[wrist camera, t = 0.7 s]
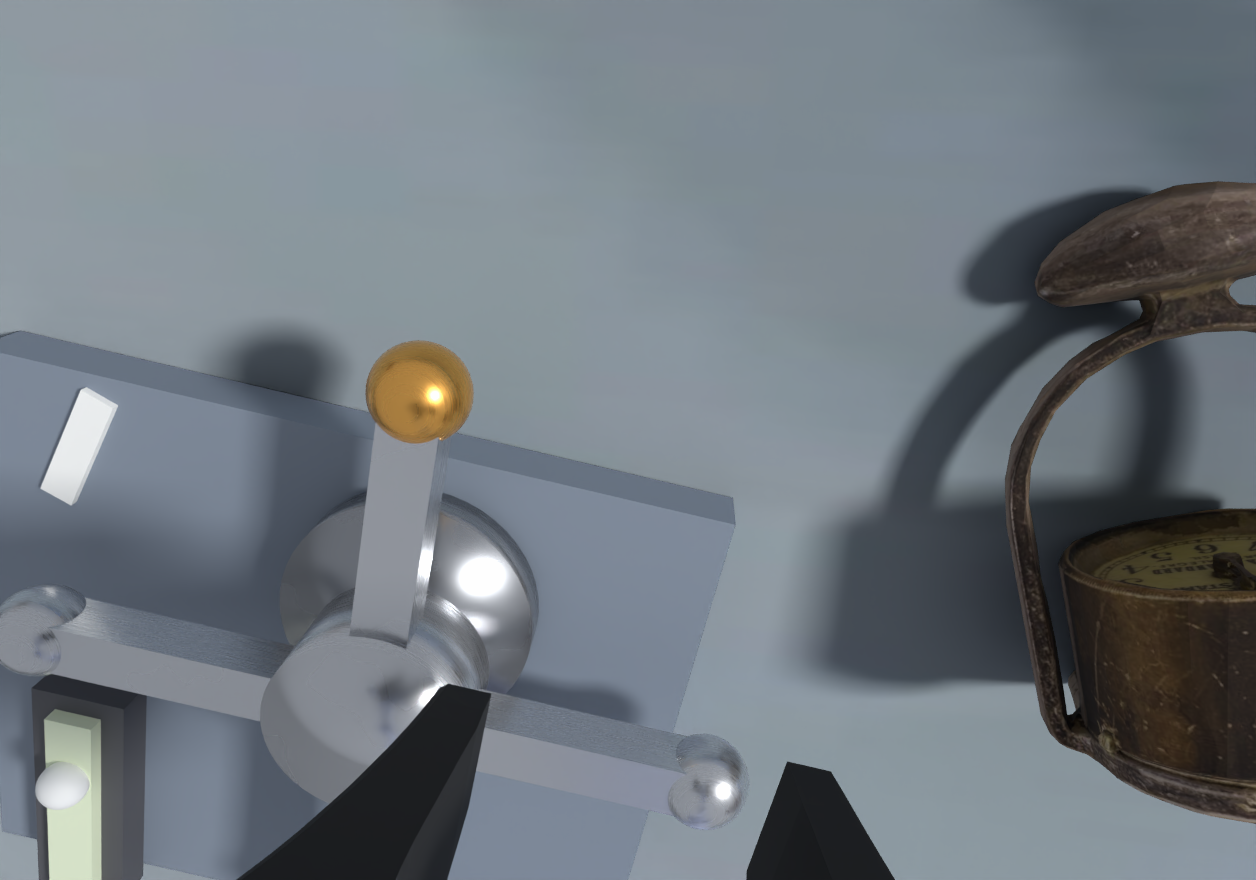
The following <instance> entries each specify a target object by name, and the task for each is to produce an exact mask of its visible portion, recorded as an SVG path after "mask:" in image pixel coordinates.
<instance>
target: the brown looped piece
mask: <svg viewBox="0 0 1256 880" xmlns="http://www.w3.org/2000/svg"><path fill="white" fill-rule="evenodd" d="M1254 275H1256V183H1237V182H1206V183H1193V184H1184V185H1177V186H1173V187H1170V188H1167V189H1164V190H1161V191H1158V192H1155V193H1153V194H1150V195H1147V196H1144V197H1141V198H1138V199H1135V200H1132V201H1130V202H1127V203H1125V204H1122V205H1120V206H1117V207H1114V208H1112V209H1109V210H1107V211H1104V212H1103V213H1101V214H1100V215H1098V216H1097V217H1095V218H1094V219H1092V220H1091V221H1089V222H1088V223H1087V224H1085V225H1084V226H1082V227H1081V228H1079V229H1078V230H1076V231H1075V232H1073V233H1072V234H1070V235H1069V236H1068V237H1066V238H1065V239H1063V240H1062V241H1060V242H1059V243H1058V245H1057V246H1056V247H1055V248H1054V249H1053V250H1052V252H1051V253H1050V254H1049V255H1048V256H1047V258H1046V259H1045V260H1044V261H1043V262H1042V263H1041V266H1040V269H1039V271H1038V274H1037V277H1036V280H1035V282H1034V283H1035V287H1036V291H1037V294H1038V296H1039V297H1041V298H1042V299H1044V300H1046V301H1047V302H1049V303H1051V304H1053V305H1057V306H1060V307H1070V306H1079V305H1088V304H1096V303H1105V302H1114V301H1128V300H1139V301H1140V304H1141V307H1142V310H1143V312H1142V314H1141V317H1140V319H1138V320H1136V321H1134V322H1133V323H1131V324H1129V325H1127V326H1126V327H1124V328H1122V329H1120V330H1118V331H1117V332H1115V333H1113V334H1111V335H1109V336H1107V337H1105V338H1103V339H1101V340H1098V341H1096V342H1094V343H1092V344H1091V345H1090V346H1088V347H1087V348H1086V349H1084V350H1083V351H1081V352H1080V353H1079V354H1077V355H1076V356H1075V357H1073V358H1072V359H1071V360H1069V361H1068V362H1067V363H1066V364H1065V366H1064V367H1063V368H1062V369H1061V370H1060V371H1059V372H1058V373H1057V374H1056V375H1055V376H1054V377H1053V378H1052V379H1051V380H1050V381H1049V382H1048V383H1047V384H1046V385H1045V386H1044V387H1043V388H1042V390H1041V392H1040V394H1039V395H1038V397H1037V399H1036V401H1035V402H1034V404H1033V406H1032V408H1031V409H1030V411H1029V413H1028V415H1027V416H1026V418H1025V420H1024V421H1023V423H1022V425H1021V426H1020V428H1019V430H1018V432H1017V434H1016V436H1015V438H1014V440H1013V443H1012V445H1011V450H1010V455H1009V461H1008V466H1007V472H1006V477H1005V499H1006V527H1007V531H1008V536H1009V542H1010V547H1011V553H1012V559H1013V564H1014V570H1015V575H1016V581H1017V587H1018V592H1019V598H1020V603H1021V609H1022V615H1023V620H1024V626H1025V631H1026V637H1027V642H1028V648H1029V653H1030V658H1031V664H1032V669H1033V675H1034V680H1035V685H1036V691H1037V696H1038V701H1039V707H1040V712H1041V716H1042V718H1043V720H1044V722H1045V724H1046V726H1047V728H1048V730H1049V732H1050V734H1051V735H1052V736H1053V737H1054V738H1055V739H1056V740H1057V741H1058V742H1059V743H1060V744H1062V745H1064V746H1065V747H1067V748H1070V749H1073V750H1076V751H1079V752H1082V753H1085V754H1087V755H1089V756H1090V757H1092V758H1093V759H1095V760H1096V761H1098V762H1099V763H1100V764H1102V765H1103V766H1104V767H1105V768H1106V769H1108V770H1109V771H1110V772H1111V773H1112V774H1114V775H1115V776H1116V778H1118V779H1120V780H1121V781H1123V782H1125V783H1126V784H1128V785H1130V786H1132V787H1133V788H1135V789H1137V790H1138V791H1140V792H1142V793H1145V794H1147V795H1150V796H1152V797H1155V798H1157V799H1160V800H1162V801H1165V802H1168V803H1171V804H1174V805H1176V806H1179V807H1182V808H1185V809H1188V810H1191V811H1194V812H1197V813H1201V814H1205V815H1209V816H1214V817H1219V818H1225V819H1231V820H1237V821H1243V822H1249V823H1254V824H1256V509H1216V510H1206V511H1200V512H1194V513H1187V514H1181V515H1175V516H1169V517H1163V518H1157V519H1150V520H1144V521H1138V522H1132V523H1129V524H1125V525H1121V526H1117V527H1113V528H1109V529H1105V530H1102V531H1099V532H1096V533H1094V534H1091V535H1089V536H1086V537H1084V538H1081V539H1079V540H1076V541H1074V542H1073V543H1072V544H1071V545H1070V546H1069V547H1068V548H1067V549H1066V550H1065V551H1064V552H1063V554H1062V555H1061V558H1060V560H1059V563H1058V566H1059V571H1060V577H1061V583H1062V588H1063V595H1064V602H1065V609H1066V614H1067V620H1068V626H1069V632H1070V638H1071V643H1072V649H1073V656H1074V662H1075V668H1076V670H1075V671H1073V673H1072V674H1071V675H1070V676H1069V677H1068V686H1069V688H1070V691H1071V694H1072V697H1073V701H1074V704H1075V708H1076V711H1075V712H1074V713H1073V714H1071V715H1067V711H1066V704H1065V697H1064V690H1063V683H1062V677H1061V671H1060V665H1059V659H1058V653H1057V647H1056V641H1055V636H1054V631H1053V626H1052V621H1051V617H1050V612H1049V607H1048V602H1047V598H1046V594H1045V591H1044V587H1043V584H1042V580H1041V574H1040V566H1039V557H1038V549H1037V544H1036V538H1035V533H1034V528H1033V522H1032V517H1031V511H1030V506H1029V489H1030V472H1031V465H1032V462H1033V459H1034V457H1035V454H1036V451H1037V448H1038V445H1039V442H1040V439H1041V437H1042V436H1043V434H1044V432H1045V430H1046V428H1047V426H1048V424H1049V422H1050V420H1051V419H1052V417H1053V415H1054V413H1055V411H1056V410H1057V409H1058V408H1059V407H1060V406H1061V405H1062V404H1063V403H1064V402H1065V401H1066V399H1067V398H1068V397H1069V396H1070V395H1071V394H1072V393H1073V392H1074V391H1075V390H1076V389H1077V388H1078V387H1079V386H1080V385H1081V384H1082V383H1083V382H1084V381H1085V380H1086V379H1087V378H1089V377H1090V376H1092V375H1093V374H1095V373H1096V372H1098V371H1100V370H1101V369H1103V368H1104V367H1106V366H1107V365H1109V364H1111V363H1112V362H1114V361H1115V360H1117V359H1118V358H1120V357H1122V356H1123V355H1125V354H1127V353H1130V352H1132V351H1134V350H1137V349H1139V348H1142V347H1144V346H1146V345H1149V344H1151V343H1153V342H1157V341H1162V340H1167V339H1172V338H1177V337H1182V336H1187V335H1191V334H1196V333H1201V332H1222V331H1248V332H1255V333H1256V305H1242V304H1238V303H1237V302H1236V301H1235V300H1234V299H1233V298H1232V297H1231V296H1230V293H1229V288H1230V286H1231V284H1232V283H1234V282H1235V281H1236V280H1238V279H1242V278H1246V277H1250V276H1254Z"/></svg>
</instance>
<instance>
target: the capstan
mask: <svg viewBox="0 0 1256 880" xmlns="http://www.w3.org/2000/svg"><path fill="white" fill-rule="evenodd" d="M473 395H474V393H473V384H472V380H471V377H470V374H469V372H468V370H467V368H466V366H465V365H464V363H463V362H462V361H461V359H460V358H459V357H458V356H457V355H456V354H455V353H453V352H452V351H451V350H449V349H447V348H446V347H444V346H442V345H439V344H436V343H433V342H429V341H419V340H417V341H409V342H404V343H401V344H398V345H396V346H394V347H392V348H391V349H389V350H387V351H386V352H385V353H383V354H382V355H381V356H380V358H379V359H378V360H377V361H376V362H375V364H374V365H373V367H372V369H371V371H370V373H369V376H368V379H367V383H366V402H367V406H368V409H369V412H370V414H371V416H372V418H373V420H374V421H375V432H374V440H373V448H372V456H371V464H370V472H369V480H368V488H367V492H365V493H362V494H359V495H356V496H354V497H352V498H350V499H348V500H346V501H344V502H342V503H340V504H339V505H338V506H336V507H335V508H333V509H332V510H331V511H329V512H328V513H327V514H326V515H325V516H324V517H323V518H322V519H321V520H320V521H319V522H318V523H317V524H316V525H315V526H314V528H313V529H312V530H311V531H310V532H309V533H308V534H307V535H306V536H305V538H304V539H303V540H302V541H301V542H300V544H299V545H298V546H297V548H296V549H295V550H294V552H293V553H292V555H291V557H290V559H289V561H288V563H287V565H286V568H285V570H284V573H283V576H282V581H281V587H280V613H281V621H282V624H283V628H284V631H285V635H286V637H287V639H288V642H289V644H290V645H288V644H284V643H280V642H275V641H271V640H266V639H262V638H258V637H253V636H249V635H245V634H240V633H236V632H232V631H227V630H223V629H219V628H214V627H210V626H206V625H201V624H197V623H193V622H188V621H184V620H180V619H175V618H171V617H167V616H162V615H158V614H154V613H149V612H145V611H141V610H136V609H132V608H128V607H123V606H119V605H114V604H110V603H106V602H101V601H97V600H93V599H88V598H86V597H85V596H84V595H82V594H81V593H80V592H78V591H77V590H75V589H73V588H70V587H67V586H64V585H60V584H38V585H33V586H29V587H27V588H24V589H22V590H19V591H18V592H16V593H14V594H12V595H11V596H10V597H8V598H7V599H6V600H5V601H3V603H2V604H1V605H0V664H1V665H3V666H4V667H5V668H7V669H9V670H11V671H13V672H15V673H18V674H21V675H26V676H46V675H51V674H55V675H59V676H64V677H68V678H72V679H77V680H81V681H85V682H90V683H94V684H99V685H103V686H107V687H112V688H116V689H120V690H125V691H129V692H133V693H138V694H142V695H147V696H151V697H155V698H160V699H164V700H168V701H173V702H177V703H182V704H186V705H190V706H195V707H199V708H203V709H208V710H212V711H217V712H221V713H225V714H230V715H234V716H238V717H243V718H247V719H251V720H256V721H260V723H261V730H262V734H263V737H264V740H265V743H266V745H267V747H268V749H269V752H270V753H271V755H272V757H273V758H274V760H275V761H276V763H277V764H278V765H279V767H280V768H281V769H282V770H283V772H284V773H285V774H286V775H287V776H288V777H289V778H290V779H291V780H292V781H293V782H295V783H296V784H297V785H299V786H300V787H301V788H302V789H304V790H305V791H307V792H308V793H310V794H312V795H313V796H315V797H317V798H319V799H321V800H323V801H325V802H327V803H329V804H330V803H331V802H332V801H333V800H334V799H335V798H337V797H338V796H339V795H340V794H341V793H342V792H343V791H344V790H345V789H347V788H348V787H349V786H350V785H351V784H352V783H353V782H354V781H355V780H356V779H357V778H358V777H359V776H360V775H361V774H362V773H363V772H364V771H365V770H366V769H367V768H368V767H369V766H370V765H371V764H372V763H373V762H374V761H375V760H376V759H377V758H378V757H379V756H380V755H381V754H382V753H383V752H384V751H385V750H386V749H387V748H388V747H389V746H390V745H391V744H392V743H393V742H394V741H395V740H396V738H397V737H398V736H399V735H400V734H401V733H402V732H403V731H404V730H405V729H406V728H407V727H408V725H409V724H410V723H411V722H412V721H413V720H414V719H415V717H416V716H417V715H418V714H419V713H420V712H421V710H422V709H423V708H424V707H425V705H426V704H427V703H428V702H429V700H430V699H431V698H432V696H433V695H434V694H435V692H436V691H437V690H438V688H440V687H442V686H444V685H446V684H452V685H457V686H461V687H465V688H470V689H474V690H478V691H483V692H487V693H491V699H490V704H489V709H488V714H487V719H486V724H485V729H484V734H483V738H482V743H481V748H480V753H479V758H478V763H477V768H476V771H479V772H483V773H487V774H492V775H496V776H501V777H505V778H509V779H514V780H518V781H522V782H527V783H531V784H536V785H540V786H544V787H549V788H553V789H557V790H562V791H566V792H570V793H575V794H579V795H584V796H588V797H592V798H597V799H601V800H605V801H610V802H614V803H619V804H623V805H627V806H632V807H636V808H640V809H645V810H649V811H654V812H658V813H662V814H667V815H671V816H674V817H675V818H676V819H678V820H679V821H680V822H681V823H683V824H685V825H687V826H689V827H692V828H695V829H699V830H712V829H717V828H720V827H722V826H724V825H726V824H728V823H730V822H731V821H732V820H733V819H734V818H736V817H737V815H738V814H739V813H740V811H741V810H742V808H743V807H744V805H745V802H746V800H747V796H748V792H749V775H748V770H747V767H746V764H745V762H744V760H743V758H742V756H741V755H740V753H739V752H738V751H737V749H736V748H735V747H734V746H733V745H731V744H730V743H729V742H728V741H726V740H724V739H722V738H720V737H718V736H715V735H711V734H695V735H691V736H683V735H679V734H675V733H670V732H666V731H662V730H657V729H653V728H649V727H644V726H640V725H636V724H631V723H627V722H623V721H618V720H614V719H610V718H605V717H601V716H597V715H592V714H588V713H583V712H579V711H575V710H570V709H566V708H562V707H557V706H553V705H549V704H544V703H540V702H536V701H531V700H527V699H523V698H518V697H514V696H510V695H505V694H506V693H507V692H508V691H509V690H510V689H511V688H512V686H513V685H514V683H515V682H516V680H517V679H518V678H519V676H520V674H521V672H522V670H523V668H524V666H525V664H526V661H527V658H528V654H529V651H530V648H531V644H532V641H533V638H534V634H535V631H536V628H537V622H538V615H539V598H538V592H537V586H536V582H535V579H534V576H533V572H532V570H531V568H530V565H529V563H528V561H527V559H526V557H525V555H524V554H523V552H522V551H521V549H520V548H519V546H518V544H517V543H516V542H515V541H514V539H513V538H512V537H511V536H510V535H509V534H508V532H507V531H506V530H505V529H504V528H503V527H502V526H500V525H499V524H498V523H497V522H496V521H495V520H494V519H493V518H491V517H490V516H488V515H487V514H486V513H484V512H483V511H482V510H480V509H478V508H476V507H475V506H473V505H471V504H469V503H468V502H466V501H463V500H461V499H459V498H456V497H454V496H452V495H449V494H445V493H443V488H444V482H445V475H446V469H447V463H448V457H449V450H450V444H451V438H452V435H453V434H455V433H456V432H457V431H458V430H459V429H460V428H461V427H462V425H463V424H464V423H465V421H466V419H467V418H468V416H469V413H470V411H471V408H472V404H473ZM329 804H328V805H329Z"/></svg>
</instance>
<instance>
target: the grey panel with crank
mask: <svg viewBox="0 0 1256 880" xmlns="http://www.w3.org/2000/svg"><path fill="white" fill-rule="evenodd" d="M374 432H375V421H374V420H373V418H372V416H371V414H370V413H369V412H365V411H360V410H356V409H352V408H347V407H343V406H339V405H335V404H330V403H326V402H322V401H318V400H313V399H309V398H305V397H301V396H296V395H292V394H288V393H284V392H279V391H275V390H271V389H267V388H262V387H258V386H254V385H249V384H245V383H241V382H237V381H232V380H228V379H224V378H220V377H215V376H211V375H207V374H203V373H198V372H194V371H190V370H186V369H181V368H177V367H173V366H168V365H164V364H160V363H156V362H151V361H147V360H143V359H139V358H134V357H130V356H126V355H122V354H117V353H113V352H109V351H105V350H100V349H96V348H92V347H88V346H83V345H79V344H75V343H70V342H66V341H62V340H58V339H53V338H49V337H45V336H41V335H36V334H32V333H28V332H24V331H19V332H16V333H13V334H10V335H7V336H4V337H0V605H1V604H2V603H3V601H5V600H6V599H7V598H8V597H10V596H11V595H12V594H14V593H16V592H18V591H19V590H22V589H24V588H27V587H29V586H33V585H38V584H60V585H64V586H67V587H70V588H73V589H75V590H77V591H78V592H80V593H81V594H82V595H84V596H85V597H86V598H88V599H93V600H97V601H101V602H106V603H110V604H114V605H119V606H123V607H128V608H132V609H136V610H141V611H145V612H149V613H154V614H158V615H162V616H167V617H171V618H175V619H180V620H184V621H188V622H193V623H197V624H201V625H206V626H210V627H214V628H219V629H223V630H227V631H232V632H236V633H240V634H245V635H249V636H253V637H258V638H262V639H266V640H271V641H275V642H280V643H284V644H288V645H290V644H289V642H288V639H287V637H286V635H285V631H284V628H283V624H282V621H281V613H280V587H281V581H282V576H283V573H284V570H285V568H286V565H287V563H288V561H289V559H290V557H291V555H292V553H293V552H294V550H295V549H296V548H297V546H298V545H299V544H300V542H301V541H302V540H303V539H304V538H305V536H306V535H307V534H308V533H309V532H310V531H311V530H312V529H313V528H314V526H315V525H316V524H317V523H318V522H319V521H320V520H321V519H322V518H323V517H324V516H325V515H326V514H327V513H328V512H329V511H331V510H332V509H333V508H335V507H336V506H338V505H339V504H340V503H342V502H344V501H346V500H348V499H350V498H352V497H354V496H356V495H359V494H362V493H365V492H367V488H368V480H369V472H370V464H371V456H372V448H373V440H374ZM443 493H445V494H449V495H452V496H454V497H456V498H459V499H461V500H463V501H466V502H468V503H469V504H471V505H473V506H475V507H476V508H478V509H480V510H482V511H483V512H484V513H486V514H487V515H488V516H490V517H491V518H493V519H494V520H495V521H496V522H497V523H498V524H499V525H500V526H502V527H503V528H504V529H505V530H506V531H507V532H508V534H509V535H510V536H511V537H512V538H513V539H514V541H515V542H516V543H517V544H518V546H519V548H520V549H521V551H522V552H523V554H524V555H525V557H526V559H527V561H528V563H529V565H530V568H531V570H532V572H533V576H534V579H535V582H536V586H537V592H538V598H539V615H538V622H537V628H536V631H535V634H534V638H533V641H532V644H531V648H530V651H529V654H528V658H527V661H526V664H525V666H524V668H523V670H522V672H521V674H520V676H519V678H518V679H517V680H516V682H515V683H514V685H513V686H512V688H511V689H510V690H509V691H508V692H507V693H506V694H505V695H510V696H514V697H518V698H523V699H527V700H531V701H536V702H540V703H544V704H549V705H553V706H557V707H562V708H566V709H570V710H575V711H579V712H583V713H588V714H592V715H597V716H601V717H605V718H610V719H614V720H618V721H623V722H627V723H631V724H636V725H640V726H644V727H649V728H653V729H657V730H662V731H666V732H670V733H673V730H674V727H675V723H676V720H677V717H678V713H679V710H680V707H681V704H682V700H683V697H684V694H685V690H686V687H687V684H688V680H689V677H690V674H691V671H692V667H693V664H694V661H695V657H696V654H697V651H698V647H699V644H700V641H701V638H702V634H703V631H704V628H705V624H706V621H707V618H708V614H709V611H710V608H711V605H712V601H713V598H714V595H715V591H716V588H717V585H718V581H719V578H720V575H721V572H722V568H723V565H724V562H725V558H726V555H727V552H728V549H729V545H730V542H731V539H732V535H733V532H734V529H735V525H736V524H735V514H734V504H733V498H731V497H727V496H722V495H718V494H714V493H710V492H705V491H701V490H697V489H693V488H688V487H684V486H680V485H676V484H671V483H667V482H663V481H659V480H654V479H650V478H646V477H641V476H637V475H633V474H629V473H624V472H620V471H616V470H612V469H607V468H603V467H599V466H595V465H590V464H586V463H582V462H578V461H573V460H569V459H565V458H561V457H556V456H552V455H548V454H543V453H539V452H535V451H531V450H526V449H522V448H518V447H514V446H509V445H505V444H501V443H497V442H492V441H488V440H484V439H480V438H475V437H471V436H467V435H463V434H458V433H455V434H453V435H452V438H451V444H450V450H449V457H448V463H447V469H446V475H445V482H444V488H443ZM0 802H1V819H2V831H4V832H8V833H12V834H17V835H21V836H26V837H30V838H35V839H37V842H38V868H39V880H140V879H141V877H142V876H143V863H145V864H150V865H154V866H158V867H163V868H167V869H172V870H176V871H181V872H185V873H189V874H194V875H198V876H203V877H207V878H212V879H216V880H236V879H238V878H239V877H240V876H242V875H243V874H244V873H246V872H247V871H248V870H250V869H251V868H252V867H254V866H255V865H256V864H258V863H259V862H260V861H262V860H263V859H264V858H266V857H267V856H268V855H269V854H271V853H272V852H273V851H274V850H276V849H277V848H278V847H279V846H281V845H282V844H283V843H284V842H286V841H287V840H288V839H289V838H291V837H292V836H293V835H294V834H295V833H297V832H298V831H299V830H300V829H301V828H303V827H304V826H305V825H306V824H307V823H308V822H309V821H310V820H312V819H313V818H314V817H315V816H316V815H317V814H318V813H320V812H321V811H322V810H323V809H324V808H325V807H326V806H327V805H328V804H329V803H327V802H325V801H323V800H321V799H319V798H317V797H315V796H313V795H312V794H310V793H308V792H307V791H305V790H304V789H302V788H301V787H300V786H299V785H297V784H296V783H295V782H293V781H292V780H291V779H290V778H289V777H288V776H287V775H286V774H285V773H284V772H283V770H282V769H281V768H280V767H279V765H278V764H277V763H276V761H275V760H274V758H273V757H272V755H271V753H270V752H269V749H268V747H267V745H266V743H265V740H264V737H263V734H262V730H261V723H260V721H256V720H251V719H247V718H243V717H238V716H234V715H230V714H225V713H221V712H217V711H212V710H208V709H203V708H199V707H195V706H190V705H186V704H182V703H177V702H173V701H168V700H164V699H160V698H155V697H151V696H147V695H142V694H138V693H133V692H129V691H125V690H120V689H116V688H112V687H107V686H103V685H99V684H94V683H90V682H85V681H81V680H77V679H72V678H68V677H64V676H59V675H55V674H51V675H46V676H26V675H21V674H18V673H15V672H13V671H11V670H9V669H7V668H5V667H4V666H3V665H1V664H0ZM648 812H649V810H645V809H640V808H636V807H632V806H627V805H623V804H619V803H614V802H610V801H605V800H601V799H597V798H592V797H588V796H584V795H579V794H575V793H570V792H566V791H562V790H557V789H553V788H549V787H544V786H540V785H536V784H531V783H527V782H522V781H518V780H514V779H509V778H505V777H501V776H496V775H492V774H487V773H483V772H479V771H476V773H475V778H474V783H473V788H472V793H471V798H470V803H469V808H468V811H467V815H466V818H465V821H464V825H463V828H462V832H461V835H460V839H459V842H458V845H457V849H456V852H455V855H454V859H453V862H452V865H451V869H450V872H449V876H448V879H447V880H628V878H629V875H630V872H631V868H632V865H633V862H634V858H635V855H636V852H637V849H638V845H639V842H640V839H641V835H642V832H643V829H644V826H645V822H646V819H647V816H648Z"/></svg>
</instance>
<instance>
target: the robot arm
mask: <svg viewBox="0 0 1256 880" xmlns="http://www.w3.org/2000/svg"><path fill="white" fill-rule="evenodd" d="M490 699H491V693H487V692H483V691H478V690H474V689H470V688H465V687H461V686H457V685H452V684H446V685H444V686H442V687H440V688H438V690H437V691H436V692H435V694H434V695H433V696H432V698H431V699H430V700H429V702H428V703H427V704H426V705H425V707H424V708H423V709H422V710H421V712H420V713H419V714H418V715H417V716H416V717H415V719H414V720H413V721H412V722H411V723H410V724H409V725H408V727H407V728H406V729H405V730H404V731H403V732H402V733H401V734H400V735H399V736H398V737H397V738H396V740H395V741H394V742H393V743H392V744H391V745H390V746H389V747H388V748H387V749H386V750H385V751H384V752H383V753H382V754H381V755H380V756H379V757H378V758H377V759H376V760H375V761H374V762H373V763H372V764H371V765H370V766H369V767H368V768H367V769H366V770H365V771H364V772H363V773H362V774H361V775H360V776H359V777H358V778H357V779H356V780H355V781H354V782H353V783H352V784H351V785H350V786H349V787H348V788H347V789H345V790H344V791H343V792H342V793H341V794H340V795H339V796H338V797H337V798H335V799H334V800H333V801H332V802H331V803H330V804H329V805H327V806H326V807H325V808H324V809H323V810H322V811H321V812H320V813H318V814H317V815H316V816H315V817H314V818H313V819H312V820H310V821H309V822H308V823H307V824H306V825H305V826H304V827H303V828H301V829H300V830H299V831H298V832H297V833H295V834H294V835H293V836H292V837H291V838H289V839H288V840H287V841H286V842H284V843H283V844H282V845H281V846H279V847H278V848H277V849H276V850H274V851H273V852H272V853H271V854H269V855H268V856H267V857H266V858H264V859H263V860H262V861H260V862H259V863H258V864H256V865H255V866H254V867H252V868H251V869H250V870H248V871H247V872H246V873H244V874H243V875H242V876H240V877H239V878H238V879H236V880H447V879H448V876H449V872H450V869H451V865H452V862H453V859H454V855H455V852H456V849H457V845H458V842H459V839H460V835H461V832H462V828H463V825H464V821H465V818H466V815H467V811H468V808H469V803H470V798H471V793H472V788H473V783H474V778H475V773H476V768H477V763H478V758H479V753H480V748H481V743H482V738H483V734H484V729H485V724H486V719H487V714H488V709H489V704H490ZM747 880H895V879H894V877H893V876H892V874H891V872H890V871H889V869H888V867H887V866H886V864H885V863H884V861H883V859H882V858H881V856H880V854H879V853H878V851H877V849H876V847H875V846H874V844H873V842H872V841H871V839H870V837H869V836H868V834H867V832H866V831H865V829H864V827H863V825H862V824H861V822H860V820H859V819H858V817H857V815H856V813H855V812H854V810H853V808H852V807H851V805H850V803H849V801H848V800H847V798H846V796H845V795H844V793H843V791H842V789H841V788H840V786H839V784H838V783H837V781H836V779H835V778H834V776H833V774H832V773H831V772H830V771H826V770H822V769H817V768H813V767H809V766H804V765H800V764H796V763H791V762H787V764H786V767H785V769H784V772H783V775H782V777H781V780H780V783H779V785H778V788H777V791H776V794H775V796H774V799H773V802H772V804H771V807H770V810H769V812H768V815H767V818H766V820H765V823H764V826H763V829H762V831H761V834H760V837H759V839H758V842H757V845H756V847H755V850H754V853H753V856H752V858H751V861H750V864H749V866H748V869H747Z"/></svg>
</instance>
